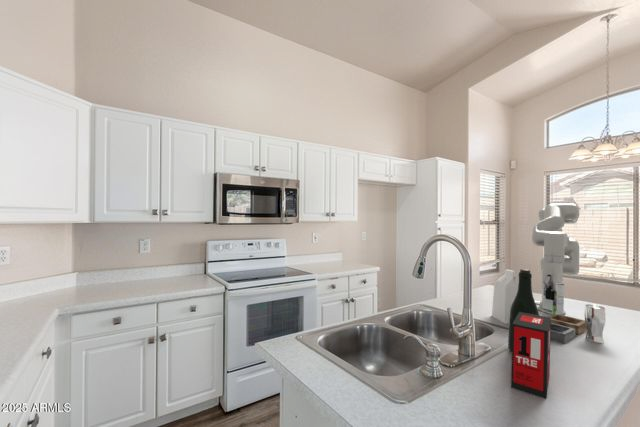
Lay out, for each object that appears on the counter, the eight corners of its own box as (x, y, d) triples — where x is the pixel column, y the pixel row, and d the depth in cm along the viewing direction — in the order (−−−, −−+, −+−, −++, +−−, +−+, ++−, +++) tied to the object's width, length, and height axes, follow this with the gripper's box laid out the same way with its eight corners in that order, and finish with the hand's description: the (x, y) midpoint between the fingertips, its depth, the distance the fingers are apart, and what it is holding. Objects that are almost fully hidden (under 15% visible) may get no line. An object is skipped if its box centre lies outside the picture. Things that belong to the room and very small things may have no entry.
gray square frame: (530, 333, 142) (530, 325, 142) (541, 328, 149) (541, 320, 149) (564, 343, 131) (564, 334, 131) (575, 337, 138) (575, 328, 138)
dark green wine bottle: (533, 349, 125) (535, 268, 125) (544, 361, 115) (546, 272, 115) (504, 345, 127) (506, 266, 128) (512, 357, 117) (514, 270, 118)
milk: (527, 324, 155) (528, 272, 155) (504, 323, 155) (505, 272, 155) (513, 316, 167) (514, 268, 167) (491, 315, 167) (492, 268, 167)
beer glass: (586, 341, 134) (587, 307, 134) (582, 336, 140) (582, 303, 140) (607, 345, 131) (608, 309, 131) (602, 339, 137) (602, 305, 137)
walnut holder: (545, 326, 151) (545, 317, 151) (555, 322, 159) (555, 313, 159) (578, 335, 141) (578, 326, 141) (587, 330, 148) (587, 321, 148)
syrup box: (542, 311, 142) (542, 280, 142) (551, 310, 144) (551, 279, 144) (554, 315, 136) (555, 282, 136) (564, 314, 138) (564, 282, 138)
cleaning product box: (546, 399, 90) (547, 331, 90) (511, 387, 96) (512, 323, 96) (549, 377, 103) (550, 317, 103) (518, 368, 109) (519, 311, 109)
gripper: (551, 257, 148) (550, 294, 148) (536, 259, 138) (535, 298, 138) (570, 259, 142) (570, 297, 142) (556, 261, 132) (555, 303, 132)
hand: (553, 298), depth 140 cm, fingers closed on syrup box, 7 cm apart
